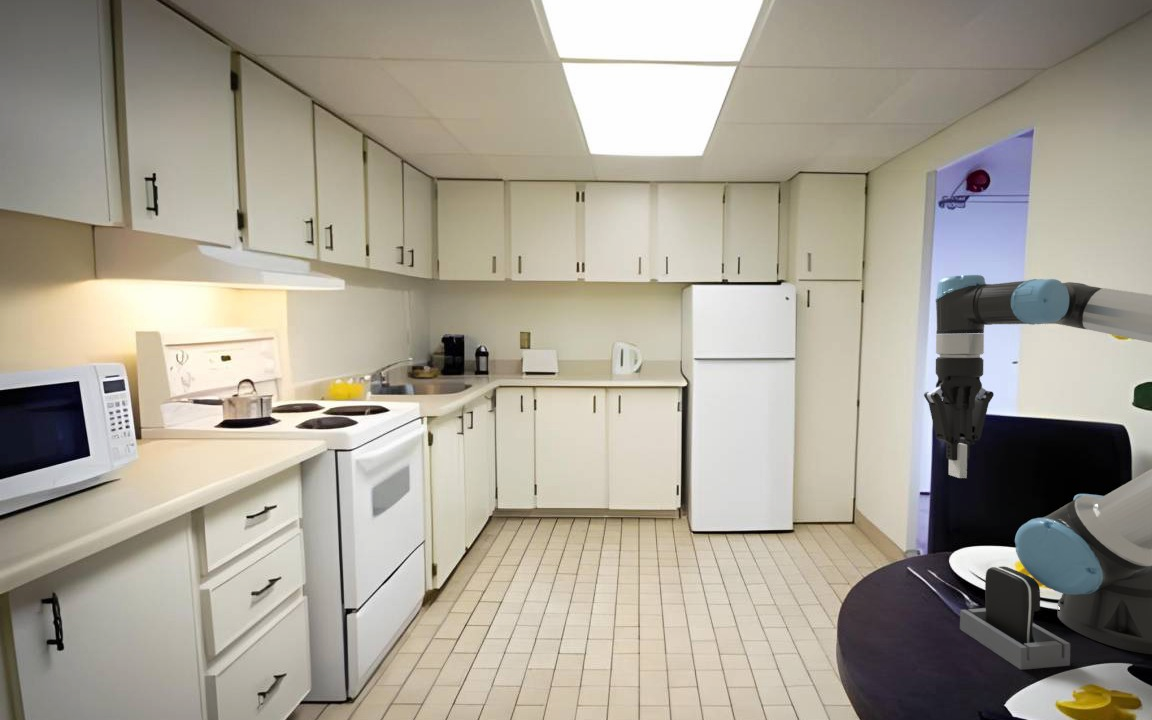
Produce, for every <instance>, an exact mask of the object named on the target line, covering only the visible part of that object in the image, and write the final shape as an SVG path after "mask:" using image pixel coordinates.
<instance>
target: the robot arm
mask: <svg viewBox="0 0 1152 720" xmlns="http://www.w3.org/2000/svg"><path fill="white" fill-rule="evenodd" d="M936 288H937V289H936V290H937V291H936V299H935V307H936V332H935V333H936V334H935V354H937V355H939V356H938V357H936V358H935V374H936V376H937V382H936V384H935V388H934V389H933V390H931V391H925V392H924V394H923V396H924V399H926V401H927V403H928V407H929V411H930V416H931V420H932V421H931V422H932V425H933V429H934V433H935V439H936V440H941V441H942V442H944V443H945V450H946V451H945V456H946V459H947V460H948V475H949V476H950V477H951V476H952V477H954V478H958V479H968V478H967V477H968V471H967V470H968V461H969V460H970V458H971V455H970V452H971V445H972V446H973V445H975V444H976V441H980V439H981V438H982V432H983V429H984V424H985V421H986V417H987V412H988V408H989V404H990V402H991V400H992V399H993V397H994V392H993V391H989V390H986V389H985V388H983V383H982V382H981V377H983V375H984V359H983V357H981V355H984V353H985V350H984V349H985V348H984V347H985V344H984V341H985V340H984V339H985V338H984V337H985V325H986V326H991V325H1031V326H1032V325H1033V326H1034V325H1044V324H1045V325H1049V324H1050V325H1051V324H1053V325H1060V326H1061V325H1062V326H1065V327H1071V328H1076V329H1082V330H1087V331H1088V330H1089V331H1094V332H1098V333H1103V334H1106V335H1107V334H1109V335H1112V336H1113V335H1114V336H1118V337H1121V338H1122V337H1123V338H1128V339H1132V340H1137V341H1141V342H1147V343H1152V294H1148V293H1141V292H1133V291H1127V290H1119V289H1114V288H1113V289H1112V288H1108V287H1107V288H1106V287H1105V288H1104V287H1097V286H1091V285H1088V284H1084V283H1082V282H1081V283H1080V282H1071V281H1070V282H1069V281H1068V282H1061V280H1059V279H1056V278H1055V279H1054V278H1049V279H1048V278H1047V279H1045V278H1043V279H1041V278H1039V279H1038V278H1034V279H1028V280H1021V281H1012V282H1011V281H1010V282H1003V283H988V284H987V283H986V279H985V277H984V276H983V275H981V274H967V275H965V274H964V275H963V274H962V275H952V276H945V277H943V278H941V279H939V281H938V282H937V287H936ZM1072 499H1073V500H1072V501H1071V502H1068V503H1067V504H1065V505H1064V506H1062V507H1059V509H1057V510H1055V511H1053V512H1051V513H1050V514H1048V515H1046V516H1043V517H1036V518H1032V519H1030V520H1028V521H1027V522H1025V523H1023V524H1022V525H1021V526H1020V527H1019V528H1018V530H1017V532H1016V534H1015V538H1014V543H1015V552H1016V555H1017V558H1018V560H1019V562H1020V563H1021V565H1022V566H1023V568H1024V569H1025V570H1026V571H1027V573H1028V574H1029V575H1030V577H1031V578H1033V579H1034V580H1036V581H1037V583H1038V582H1039V583H1040V584H1041V585H1042V586H1044V587H1046V588H1048V589H1049V590H1053V591H1055V592H1058V593H1060V594H1061V597H1060V599H1058V602H1057V607H1058V606H1059V607H1060V611H1058V610H1057V618H1058V619H1059V621H1060V622H1061V623H1062V624H1064V625H1065V626H1066V627H1068V628H1069V629H1071V630H1072V631H1074V632H1076V633H1078V634H1080V635H1082V636H1084V637H1086V638H1089V639H1091V640H1093V641H1096V642H1098V643H1101V644H1103V645H1104V644H1105V645H1107V646H1110V647H1114V648H1117V649H1120V650H1124V651H1129V652H1134V653H1139V654H1143V655H1144V654H1145V655H1152V468H1150V469H1149V470H1147V471H1145V472H1143V473H1142V474H1140V475H1139V476H1137V477H1135V478H1133V479H1131V480H1130V481H1128V482H1126V483H1125V484H1122V485H1121V486H1119V487H1118V488H1116V489H1114V490H1112V491H1111V492H1109V493H1107V494H1105V495H1099V494H1089V493H1078V494H1076V495H1074V497H1073V498H1072Z"/></svg>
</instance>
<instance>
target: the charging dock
mask: <svg viewBox="0 0 1152 720" xmlns="http://www.w3.org/2000/svg"><path fill="white" fill-rule="evenodd" d="M959 630H961V631H962V633H963V632H964V634H967V636H969V637H971V638H972V639H974V640H976V641H977V642H978V643H980V645H981V644H982V645H983V646H984V647H985V648H988V649H989V650H991V652H993V653H995V654H997V655H998V657H999V656H1000V657H1001V658H1002V659H1003V660H1005V661H1007V662H1008V663H1010V664H1011V665H1013V666H1014V667H1016V668H1017V669H1019V670H1021V671H1023V670H1032V669H1033V670H1034V669H1043V668H1057V667H1068V666H1071V643H1070V642H1068V641H1066V640H1065V639H1063V638H1061V637H1059V636H1058V635H1056V634H1054V633H1052V632H1050V631H1048V630H1046V629H1045V628H1043V627H1041V626H1039V625H1037V624H1036V623H1035V622H1033V626H1032V634H1033V638H1034V641H1035V643H1024V645H1022V644H1021V643H1019V642H1017V641H1016V640H1014V639H1013V638H1011V637H1009V636H1008V635H1006V634H1004V633H1003V632H1001V631H1000V630H998V629H996V628H995V627H993V626H991V625H990V624H988V623H987V622H986V607H982V608H968V609H960V612H959Z"/></svg>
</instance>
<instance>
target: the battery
mask: <svg viewBox="0 0 1152 720" xmlns="http://www.w3.org/2000/svg"><path fill="white" fill-rule="evenodd" d="M984 581H985V584H984V587H985V588H984V591H985V592H984V594H985V595H984V596H985V597H984V598H985V608H986V622H987V623H988V624H990V625H991V626H993V627H995V628H996V629H998V630H1000V631H1001V632H1003V633H1004V634H1006V635H1008V636H1009V637H1011V638H1013V639H1014V640H1016V641H1017V642H1019V643H1021V644H1022V645H1024V643H1035V641H1034V638H1033V634H1032V626H1033V623H1034V616H1035V612H1038V611H1040V610H1041V589H1040V585H1039V583H1038V581H1037V580H1036V579H1035V578H1033V577H1032V576H1031V575H1030V576H1029V575H1028V574H1025V573H1022V572H1021V571H1018V570H1016V569H1013V568H1011V567H1008V566H991V567H989V568H988V569H987V570H986V572H985V580H984Z"/></svg>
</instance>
